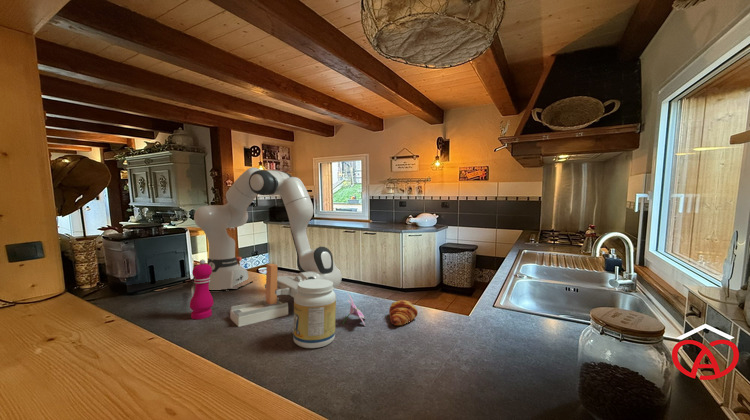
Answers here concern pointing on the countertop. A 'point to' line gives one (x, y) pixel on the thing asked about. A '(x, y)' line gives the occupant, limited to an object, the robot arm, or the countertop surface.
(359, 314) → the lily
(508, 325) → the countertop surface
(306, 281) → the supplement tub
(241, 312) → the white base plate
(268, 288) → the lever
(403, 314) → the croissant
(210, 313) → the pepper mill
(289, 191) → the robot arm
